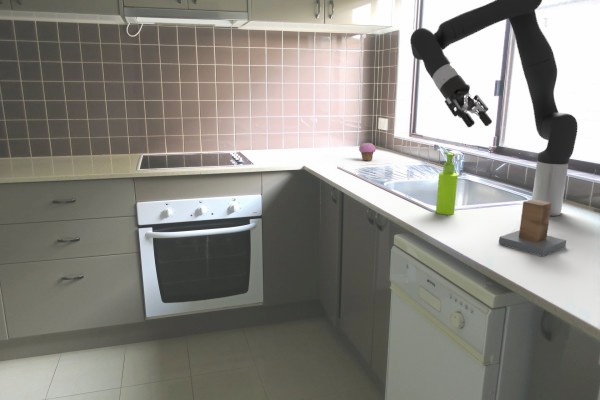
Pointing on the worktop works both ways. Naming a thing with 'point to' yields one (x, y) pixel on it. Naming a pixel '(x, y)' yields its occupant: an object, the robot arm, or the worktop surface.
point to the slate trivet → (532, 244)
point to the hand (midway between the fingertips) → (480, 124)
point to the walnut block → (534, 220)
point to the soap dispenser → (447, 187)
